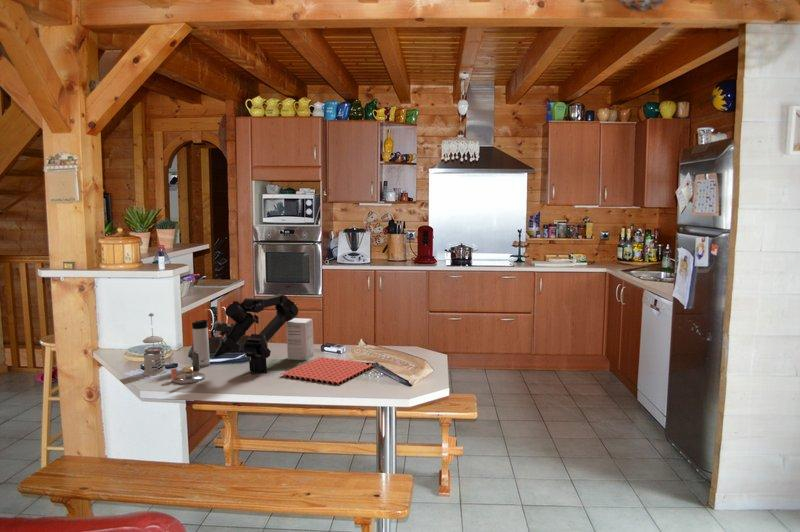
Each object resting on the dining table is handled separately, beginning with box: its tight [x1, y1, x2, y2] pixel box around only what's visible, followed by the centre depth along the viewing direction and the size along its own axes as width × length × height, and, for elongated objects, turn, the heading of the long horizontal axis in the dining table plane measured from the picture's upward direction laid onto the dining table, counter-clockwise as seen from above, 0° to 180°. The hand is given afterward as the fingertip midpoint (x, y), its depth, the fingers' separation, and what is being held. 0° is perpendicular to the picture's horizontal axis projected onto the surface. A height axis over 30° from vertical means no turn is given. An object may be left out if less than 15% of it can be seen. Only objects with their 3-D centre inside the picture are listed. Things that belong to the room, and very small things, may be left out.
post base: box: [170, 367, 206, 385], centre depth 241 cm, size 12×12×5 cm
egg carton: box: [279, 356, 372, 387], centre depth 247 cm, size 28×28×2 cm
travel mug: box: [191, 319, 211, 368], centre depth 260 cm, size 6×7×20 cm
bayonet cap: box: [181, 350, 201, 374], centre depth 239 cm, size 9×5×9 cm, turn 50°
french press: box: [142, 312, 168, 377], centre depth 252 cm, size 10×12×25 cm
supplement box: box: [285, 317, 315, 361], centre depth 271 cm, size 10×9×17 cm
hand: (214, 356), depth 239 cm, fingers closed
